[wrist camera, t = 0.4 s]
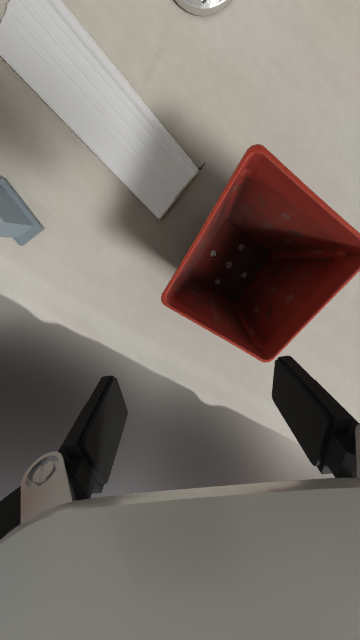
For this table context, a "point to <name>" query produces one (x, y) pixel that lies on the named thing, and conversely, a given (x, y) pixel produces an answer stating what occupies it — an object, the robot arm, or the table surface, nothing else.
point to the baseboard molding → (94, 100)
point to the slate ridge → (16, 216)
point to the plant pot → (264, 259)
